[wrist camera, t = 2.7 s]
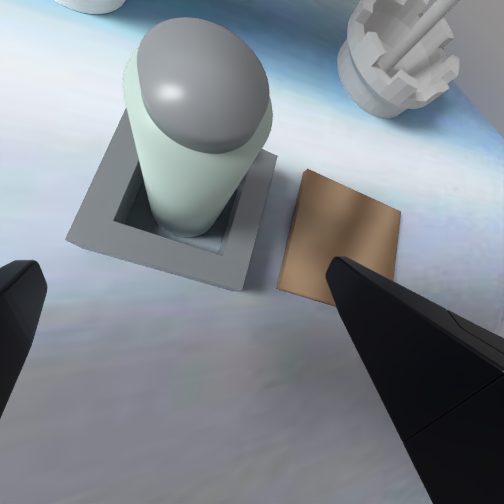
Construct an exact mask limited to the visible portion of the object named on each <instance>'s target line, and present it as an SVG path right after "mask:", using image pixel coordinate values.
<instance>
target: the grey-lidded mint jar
mask: <svg viewBox="0 0 504 504" xmlns="http://www.w3.org/2000/svg"><path fill="white" fill-rule="evenodd" d="M123 93H124V99H125V103H126V107H127V112H128V116H129V120H130V124H131V128H132V133H133V137H134V141H135V145H136V149H137V153H138V158H139V162H140V166H141V170H142V174H143V178H144V183H145V187H146V191H147V195H148V199H149V203H150V208H151V211H152V215H153V217H154V219H155V220H156V222H157V223H158V224H159V226H160V227H161V228H163V229H164V230H165V231H167V232H168V233H170V234H172V235H175V236H179V237H195V236H198V235H201V234H203V233H205V232H206V231H208V230H209V229H210V228H211V227H212V226H213V224H214V223H215V221H216V220H217V218H218V216H219V215H220V213H221V212H222V210H223V209H224V207H225V205H226V204H227V202H228V201H229V199H230V198H231V196H232V194H233V193H234V191H235V190H236V188H237V187H238V185H239V183H240V182H241V180H242V179H243V177H244V176H245V174H246V172H247V171H248V169H249V168H250V166H251V165H252V163H253V161H254V160H255V158H256V157H257V155H258V153H259V152H260V150H261V149H262V147H263V146H264V144H265V142H266V140H267V139H268V136H269V134H270V131H271V126H272V118H273V113H272V104H271V100H270V96H269V84H268V79H267V76H266V73H265V70H264V68H263V66H262V64H261V62H260V61H259V59H258V57H257V56H256V55H255V53H254V52H253V51H252V50H251V49H250V47H249V46H248V45H247V44H246V43H245V42H244V41H243V40H241V39H240V38H239V37H238V36H236V35H235V34H234V33H232V32H231V31H229V30H227V29H226V28H224V27H222V26H220V25H218V24H215V23H213V22H210V21H206V20H203V19H198V18H189V17H182V18H174V19H169V20H166V21H163V22H161V23H159V24H157V25H155V26H154V27H153V28H152V29H150V30H149V31H148V32H147V34H146V35H145V36H144V38H143V39H142V41H141V43H140V46H139V47H138V48H137V49H136V50H135V51H134V52H133V54H132V55H131V57H130V58H129V60H128V62H127V65H126V67H125V70H124V76H123Z"/></svg>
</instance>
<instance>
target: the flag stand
mask: <svg viewBox="0 0 504 504" xmlns="http://www.w3.org/2000/svg"><path fill="white" fill-rule="evenodd" d="M459 1H460V0H437V1H436V2H435V3H434V4H433V5H432V6H431V7H430V8H429V9H428V11H427V12H426V13H425V14H424V15H423V14H422V13H421V12H422V10H423V9H424V8H425V7H426V6H427V5H428V2H429V0H361V1H360V2H359V4H358V5H357V7H356V8H355V10H354V12H353V13H352V15H351V17H350V20H349V22H348V29H347V37H348V38H347V39H346V40H345V42H344V43H343V45H342V46H341V48H340V50H339V53H338V57H337V68H338V73H339V77H340V80H341V82H342V84H343V87H344V88H345V90H346V92H347V93H348V95H349V96H350V97H351V99H352V100H353V101H354V102H355V103H356V104H357V105H358V106H359V107H360V108H361V109H363V110H364V111H366V112H367V113H369V114H371V115H373V116H375V117H379V118H385V119H389V118H394V117H396V116H398V115H400V114H401V113H402V112H404V111H405V110H406V109H418V108H422V107H424V106H426V105H427V104H429V103H430V102H432V101H433V100H434V99H436V98H437V97H438V96H440V95H441V94H443V93H444V92H445V91H447V90H448V89H449V86H448V85H447V83H449V82H450V81H451V80H453V79H454V78H455V77H457V76H458V71H459V58H457V57H456V56H454V55H451V56H450V57H449V58H448V59H447V58H446V54H445V51H444V47H445V46H446V45H447V44H448V43H449V42H451V41H452V40H453V39H454V36H453V34H452V32H451V30H450V27H449V26H448V24H447V22H446V20H445V19H444V18H443V17H444V16H445V15H446V14H447V13H448V12H449V11H450V10H451V9H452V8H453V7H454V6H455V5H456V4H457V3H458V2H459ZM442 18H443V19H442Z"/></svg>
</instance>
